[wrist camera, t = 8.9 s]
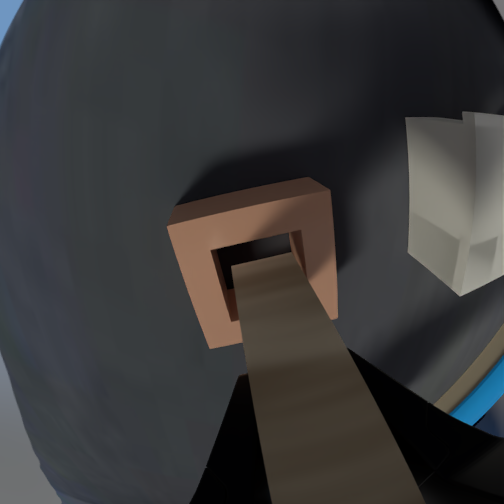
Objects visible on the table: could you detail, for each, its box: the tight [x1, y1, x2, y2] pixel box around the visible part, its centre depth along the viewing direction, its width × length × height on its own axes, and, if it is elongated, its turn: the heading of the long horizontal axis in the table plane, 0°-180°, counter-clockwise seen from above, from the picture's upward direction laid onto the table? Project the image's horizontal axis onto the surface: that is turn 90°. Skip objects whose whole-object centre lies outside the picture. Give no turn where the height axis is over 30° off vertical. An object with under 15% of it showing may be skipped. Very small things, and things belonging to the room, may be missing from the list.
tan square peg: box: [231, 252, 426, 504], centre depth 7 cm, size 3×3×12 cm
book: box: [434, 324, 504, 426], centre depth 29 cm, size 17×4×25 cm
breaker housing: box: [405, 111, 504, 296], centre depth 13 cm, size 9×12×6 cm
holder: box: [167, 177, 338, 349], centre depth 15 cm, size 7×7×3 cm
